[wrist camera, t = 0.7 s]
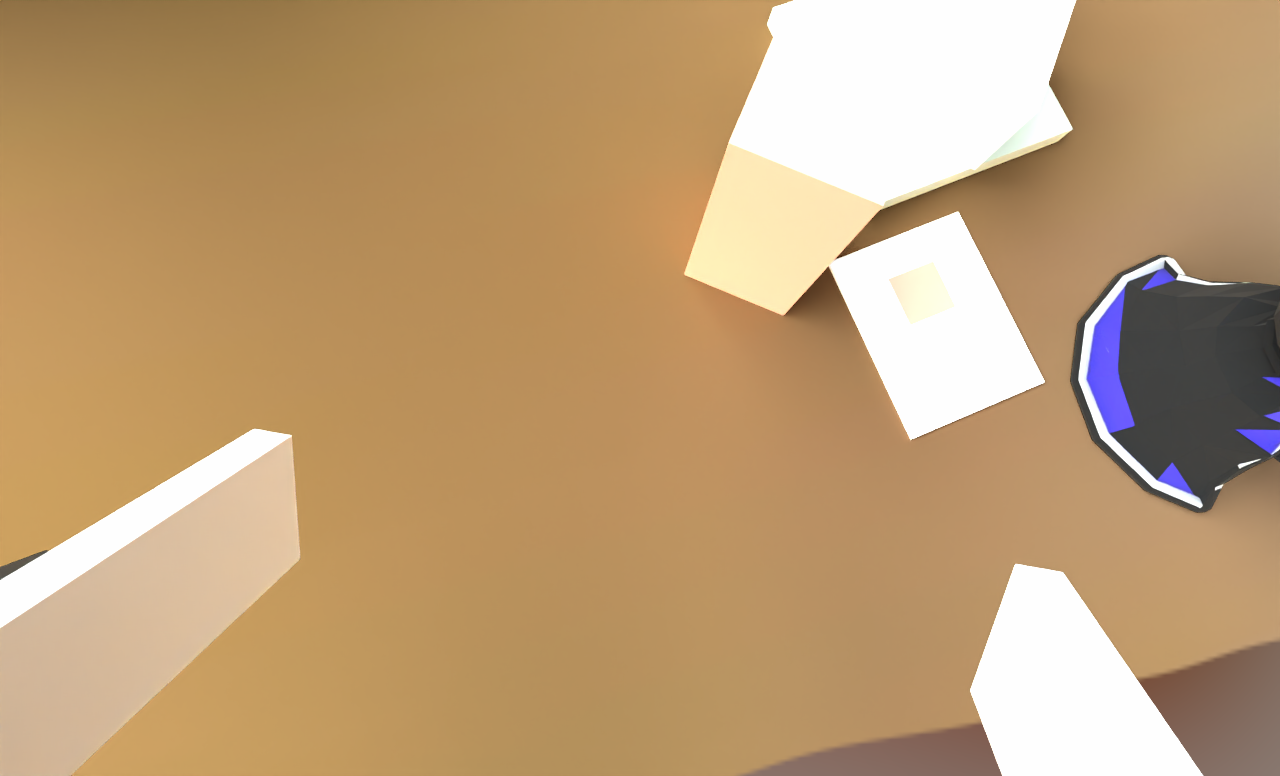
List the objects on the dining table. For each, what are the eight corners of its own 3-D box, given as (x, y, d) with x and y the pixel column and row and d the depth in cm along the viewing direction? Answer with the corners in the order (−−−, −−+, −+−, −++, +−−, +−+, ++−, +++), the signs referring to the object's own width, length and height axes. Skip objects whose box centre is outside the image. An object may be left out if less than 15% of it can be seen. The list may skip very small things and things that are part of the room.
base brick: (817, 106, 34) (853, 36, 29) (871, -30, 35) (915, -118, 30) (974, 170, 34) (1038, 110, 29) (1023, 31, 35) (1091, -48, 30)
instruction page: (827, 263, 34) (828, 262, 33) (956, 213, 34) (958, 211, 34) (910, 439, 32) (912, 438, 32) (1042, 382, 33) (1045, 381, 33)
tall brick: (683, 274, 33) (728, 142, 21) (722, 183, 34) (785, 8, 22) (783, 315, 33) (883, 205, 21) (819, 222, 34) (934, 68, 22)
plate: (767, 24, 36) (772, 7, 34) (958, -42, 37) (970, -60, 36) (860, 217, 34) (869, 206, 33) (1057, 141, 35) (1072, 128, 34)
